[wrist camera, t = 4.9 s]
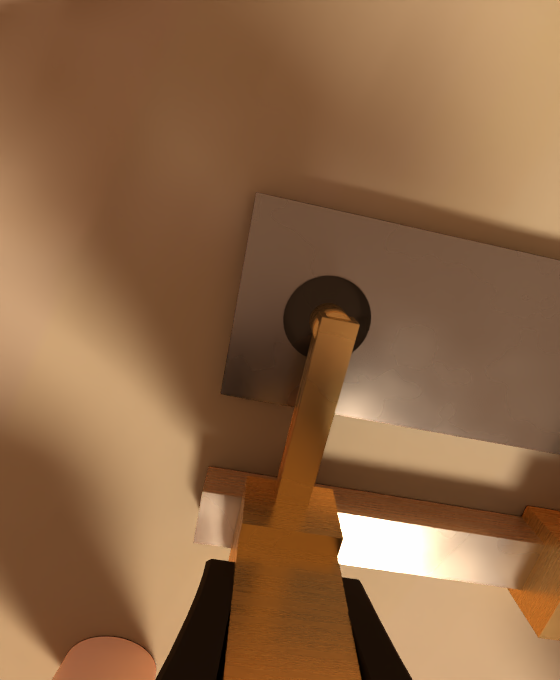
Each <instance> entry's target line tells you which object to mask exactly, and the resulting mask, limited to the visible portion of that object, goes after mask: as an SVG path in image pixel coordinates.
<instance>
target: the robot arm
mask: <svg viewBox="0 0 560 680" xmlns="http://www.w3.org/2000/svg"><path fill="white" fill-rule="evenodd" d="M234 568H235V562H230V561H223V560H216V559H210V560H208V561H207V562H206V565H205V569H204V573H203V576H202V579H201V582H200V585H199V588H198V590H197V593H196V596H195V598H194V601H193V603H192V605H191V608H190V610H189V612H188V615H187V617H186V619H185V621H184V623H183V626H182V628H181V630H180V632H179V634H178V636H177V638H176V640H175V642H174V645H173V647H172V649H171V651H170V653H169V655H168V657H167V659H166V661H165V663H164V664H163V666H162V668H161V670H160V672H159V674H158V676H157V677H156V679H155V680H216V678H217V672H218V667H219V662H220V657H221V652H222V647H223V642H224V637H225V631H226V626H227V621H228V616H229V611H230V606H231V601H232V594H233V582H234ZM342 581H343V587H344V592H345V597H346V602H347V607H348V615H349V619H350V623H351V628H352V633H353V638H354V643H355V648H356V654H357V659H358V664H359V669H360V674H361V679H362V680H412V678H411V676H410V674H409V673H408V671H407V669H406V667H405V666H404V664H403V662H402V660H401V659H400V657H399V655H398V653H397V651H396V649H395V648H394V646H393V644H392V642H391V640H390V638H389V636H388V634H387V633H386V631H385V629H384V627H383V625H382V623H381V621H380V619H379V617H378V615H377V613H376V611H375V609H374V607H373V605H372V604H371V602H370V600H369V598H368V596H367V594H366V592H365V590H364V588H363V586H362V584H361V582H360V581H359V580H357V579H350V578H343V577H342Z"/></svg>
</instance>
